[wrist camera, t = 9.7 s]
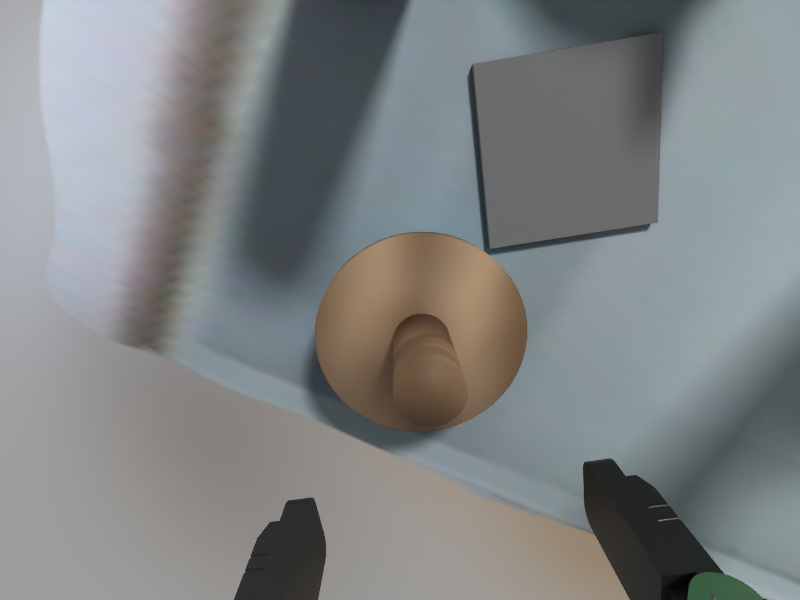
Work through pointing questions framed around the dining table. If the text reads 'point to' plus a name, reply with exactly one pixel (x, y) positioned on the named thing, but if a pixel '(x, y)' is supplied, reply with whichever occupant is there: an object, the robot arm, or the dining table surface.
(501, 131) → the mat
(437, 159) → the dining table surface
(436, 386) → the lid
